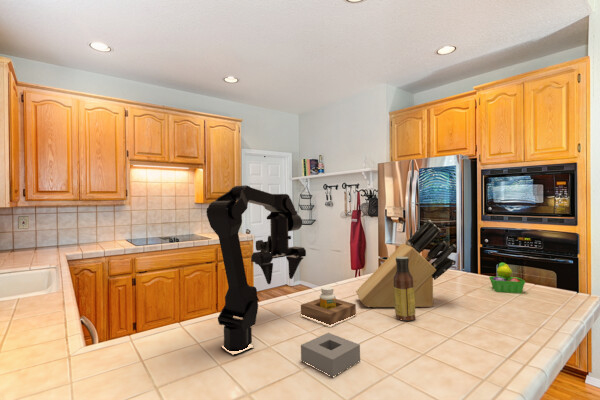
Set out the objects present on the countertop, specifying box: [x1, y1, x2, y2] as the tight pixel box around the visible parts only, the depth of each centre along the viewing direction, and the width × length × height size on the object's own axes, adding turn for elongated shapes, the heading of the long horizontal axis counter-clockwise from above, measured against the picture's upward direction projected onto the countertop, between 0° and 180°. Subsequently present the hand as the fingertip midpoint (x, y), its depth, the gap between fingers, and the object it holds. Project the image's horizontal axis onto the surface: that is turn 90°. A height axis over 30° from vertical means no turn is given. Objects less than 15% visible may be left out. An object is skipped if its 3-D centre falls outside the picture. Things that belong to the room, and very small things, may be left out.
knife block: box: [355, 219, 457, 308], centre depth 117 cm, size 11×35×31 cm, turn 89°
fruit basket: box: [488, 262, 526, 294], centre depth 131 cm, size 11×9×11 cm
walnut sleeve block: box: [300, 298, 357, 325], centre depth 104 cm, size 13×13×4 cm
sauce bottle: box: [394, 257, 416, 322], centre depth 102 cm, size 7×6×20 cm
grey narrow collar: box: [300, 332, 361, 378], centre depth 75 cm, size 10×10×4 cm
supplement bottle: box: [319, 286, 337, 309], centre depth 104 cm, size 5×5×10 cm
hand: (280, 281), depth 101 cm, fingers open, 9 cm apart
